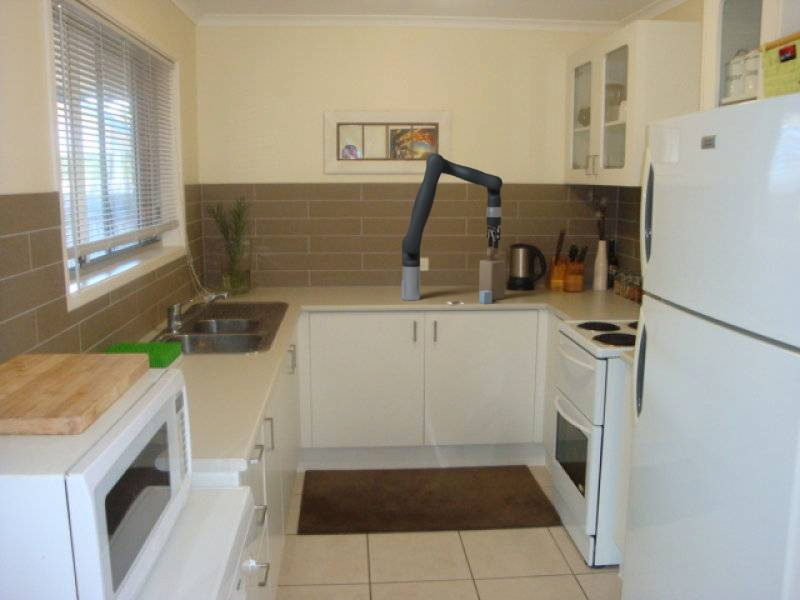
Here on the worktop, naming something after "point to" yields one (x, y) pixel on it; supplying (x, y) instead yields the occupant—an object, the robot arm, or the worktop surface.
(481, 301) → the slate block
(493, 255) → the walnut block
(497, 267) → the wooden block
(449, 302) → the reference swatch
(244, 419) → the worktop surface
